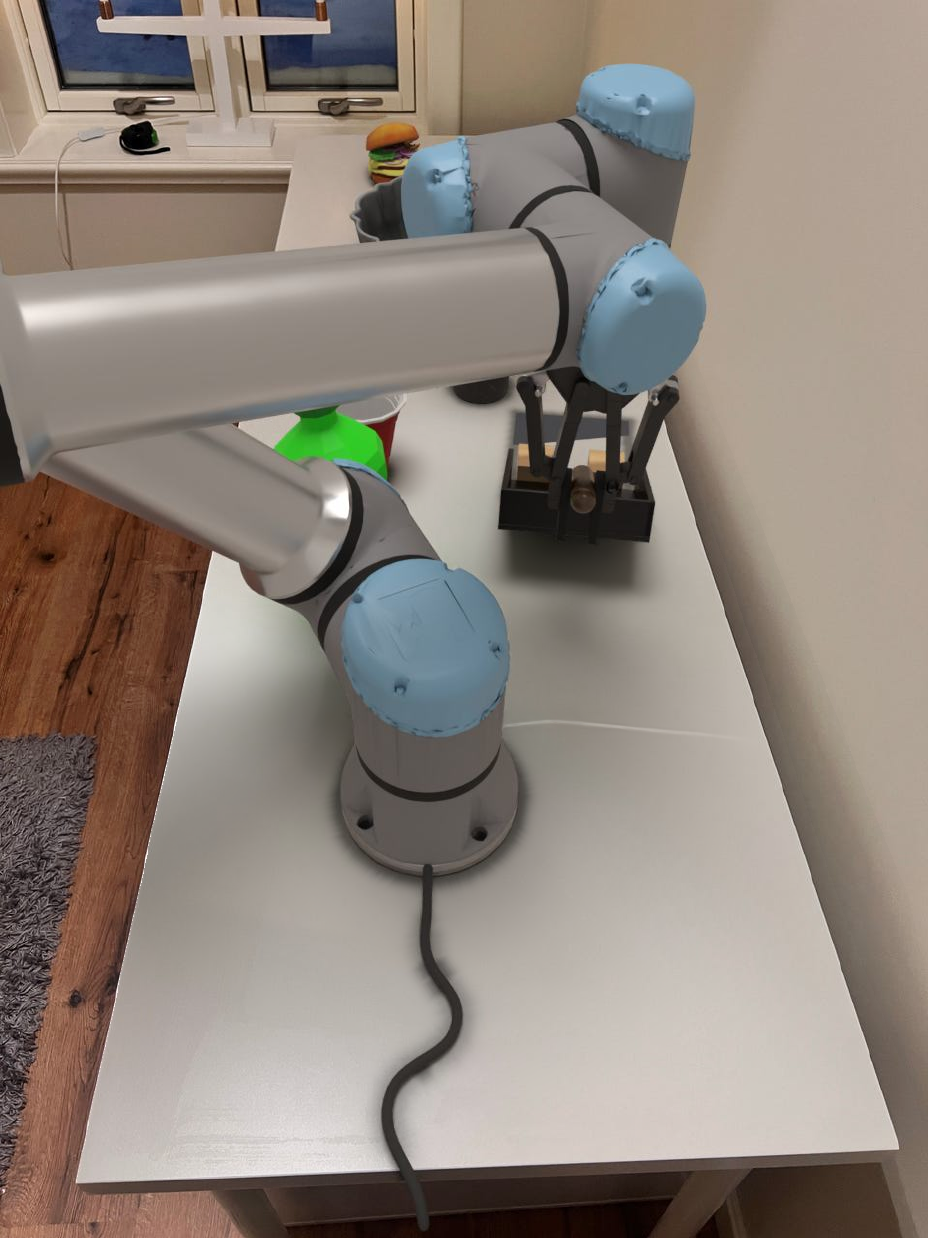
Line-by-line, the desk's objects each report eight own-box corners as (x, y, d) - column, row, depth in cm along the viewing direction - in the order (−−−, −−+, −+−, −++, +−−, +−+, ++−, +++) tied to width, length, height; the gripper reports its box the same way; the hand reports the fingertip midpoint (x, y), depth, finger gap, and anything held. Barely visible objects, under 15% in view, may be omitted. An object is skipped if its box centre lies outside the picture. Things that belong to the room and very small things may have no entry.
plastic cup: (397, 511, 107) (393, 424, 98) (305, 497, 108) (292, 410, 99) (419, 452, 114) (417, 365, 105) (332, 439, 115) (323, 353, 106)
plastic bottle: (402, 557, 101) (366, 345, 83) (413, 627, 94) (376, 411, 76) (308, 572, 101) (252, 363, 83) (312, 643, 93) (251, 430, 76)
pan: (659, 587, 84) (674, 500, 80) (490, 572, 84) (496, 484, 81) (638, 495, 107) (648, 424, 103) (505, 484, 108) (511, 413, 104)
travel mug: (443, 398, 121) (443, 248, 106) (461, 366, 126) (463, 218, 111) (500, 409, 120) (509, 259, 105) (516, 376, 125) (526, 228, 110)
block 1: (553, 467, 106) (553, 445, 108) (517, 465, 106) (518, 443, 109) (550, 494, 109) (550, 472, 111) (515, 492, 109) (516, 470, 112)
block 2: (624, 474, 105) (624, 451, 108) (588, 471, 105) (589, 448, 108) (619, 501, 108) (619, 479, 111) (584, 498, 108) (585, 476, 111)
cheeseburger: (385, 196, 158) (375, 130, 153) (360, 187, 166) (349, 124, 160) (438, 183, 162) (431, 118, 156) (411, 175, 170) (403, 113, 164)
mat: (630, 506, 108) (630, 505, 108) (507, 497, 109) (507, 495, 109) (628, 421, 119) (628, 420, 118) (516, 413, 119) (516, 412, 119)
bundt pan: (326, 302, 136) (320, 235, 129) (393, 221, 153) (390, 158, 145) (502, 337, 131) (506, 268, 123) (551, 249, 148) (557, 184, 140)
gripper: (709, 283, 73) (657, 513, 91) (511, 270, 74) (498, 499, 91) (715, 336, 68) (659, 568, 86) (503, 321, 69) (491, 553, 87)
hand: (576, 532), depth 89 cm, fingers closed on pan, 2 cm apart
